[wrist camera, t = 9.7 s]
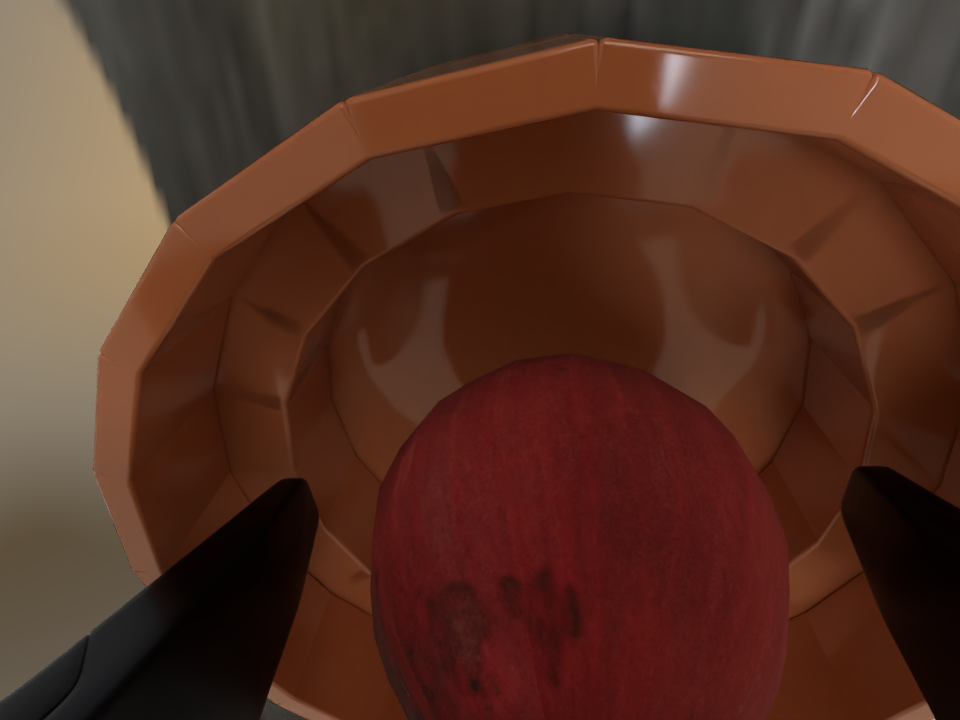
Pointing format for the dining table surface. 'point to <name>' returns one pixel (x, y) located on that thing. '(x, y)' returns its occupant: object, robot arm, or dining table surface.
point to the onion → (577, 555)
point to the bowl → (555, 317)
